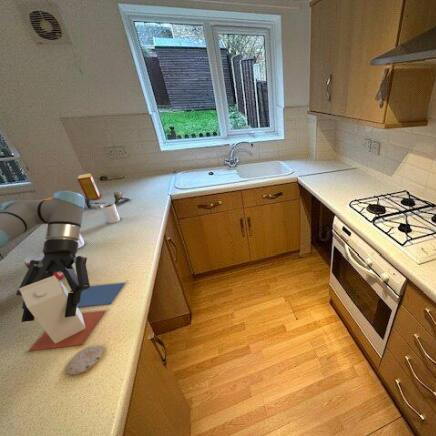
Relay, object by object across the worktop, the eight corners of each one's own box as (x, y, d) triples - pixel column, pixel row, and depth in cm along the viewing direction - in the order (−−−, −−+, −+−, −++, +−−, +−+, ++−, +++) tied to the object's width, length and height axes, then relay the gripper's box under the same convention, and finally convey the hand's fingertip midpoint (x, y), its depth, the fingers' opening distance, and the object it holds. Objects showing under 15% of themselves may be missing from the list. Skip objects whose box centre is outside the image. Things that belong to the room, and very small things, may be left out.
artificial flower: (91, 207, 156) (88, 191, 154) (131, 204, 164) (129, 190, 162) (85, 209, 148) (82, 192, 146) (128, 206, 156) (126, 191, 154)
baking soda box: (99, 198, 165) (89, 176, 158) (87, 200, 162) (77, 178, 155) (100, 194, 172) (90, 172, 165) (89, 196, 169) (78, 174, 162)
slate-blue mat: (66, 308, 80) (65, 308, 80) (85, 287, 89) (84, 286, 89) (110, 304, 82) (110, 303, 81) (124, 283, 90) (124, 282, 90)
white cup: (108, 219, 137) (101, 204, 132) (121, 217, 139) (115, 201, 135) (106, 224, 131) (98, 208, 127) (120, 222, 134) (113, 205, 129)
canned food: (60, 270, 98) (46, 248, 93) (68, 276, 95) (54, 254, 89) (35, 281, 92) (19, 258, 87) (43, 288, 89) (27, 265, 84)
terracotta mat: (28, 351, 67) (28, 350, 67) (59, 316, 78) (59, 315, 77) (82, 345, 68) (81, 344, 68) (105, 311, 79) (105, 310, 79)
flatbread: (78, 380, 60) (77, 378, 59) (60, 369, 62) (58, 367, 62) (110, 351, 66) (109, 348, 66) (93, 342, 69) (91, 340, 69)
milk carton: (53, 329, 73) (18, 282, 64) (82, 315, 77) (53, 269, 68) (55, 344, 68) (18, 296, 59) (86, 328, 73) (55, 281, 64)
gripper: (110, 240, 77) (101, 313, 71) (33, 246, 75) (17, 322, 69) (93, 234, 70) (82, 315, 64) (8, 241, 68) (-12, 326, 62)
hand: (49, 319), depth 66 cm, fingers open, 10 cm apart
